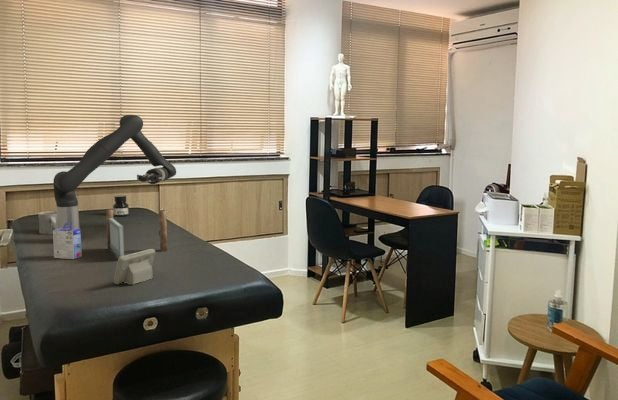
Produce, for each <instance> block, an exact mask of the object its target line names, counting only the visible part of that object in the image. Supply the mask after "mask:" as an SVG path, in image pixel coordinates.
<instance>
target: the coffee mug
mask: <svg viewBox="0 0 618 400" xmlns="http://www.w3.org/2000/svg"><path fill="white" fill-rule="evenodd" d="M37 217H38V219H37V220H38V231H39V232H38V233H39V234H41V235H53V230H55V229H56V222H58V221H57V210H55V211H54V210H47V211H41V212H38V213H37Z"/></svg>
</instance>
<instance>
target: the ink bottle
mask: <svg viewBox="0 0 618 400" xmlns="http://www.w3.org/2000/svg"><path fill="white" fill-rule="evenodd" d="M113 198H114V199H113V200H114V204H112V208H113V217H127V216H129V215H130V211H129V207H130V206H129V204H128V203H127V195H124V194H121V195H114V197H113Z"/></svg>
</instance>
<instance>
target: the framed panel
mask: <svg viewBox="0 0 618 400" xmlns="http://www.w3.org/2000/svg"><path fill="white" fill-rule="evenodd" d="M113 218H114V217H113ZM113 218H109V223H110V242H111V243H110V247H111V248H112V250H111V251H113V252H115V254H116V255H117V256H118V257H122V256H125V242H124V240H125V239H124V238H125V237H124V225H122V224H121V223H120V222H118V221H117V220H116V219H113Z"/></svg>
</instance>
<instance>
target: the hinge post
mask: <svg viewBox="0 0 618 400" xmlns="http://www.w3.org/2000/svg"><path fill="white" fill-rule="evenodd" d="M105 217H106V218H105V220H106V238H107V241H106V242H107V250H108V251H113V250H112V248H111V247H110V243H111V242H110V223H109V218H113V219H114V215H113V209H112V208H109V209H105ZM114 220H115V219H114Z"/></svg>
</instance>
